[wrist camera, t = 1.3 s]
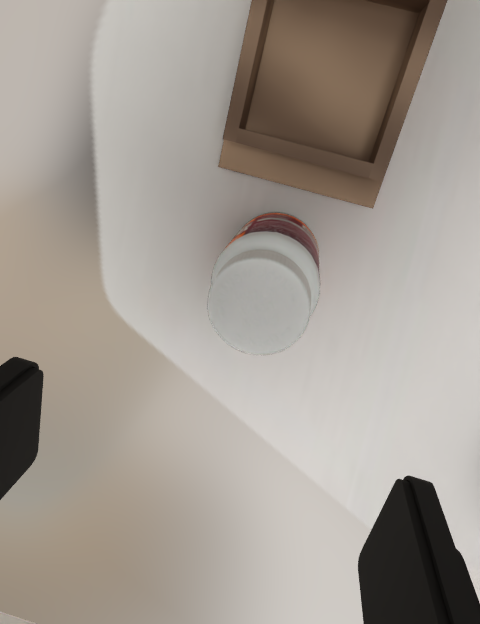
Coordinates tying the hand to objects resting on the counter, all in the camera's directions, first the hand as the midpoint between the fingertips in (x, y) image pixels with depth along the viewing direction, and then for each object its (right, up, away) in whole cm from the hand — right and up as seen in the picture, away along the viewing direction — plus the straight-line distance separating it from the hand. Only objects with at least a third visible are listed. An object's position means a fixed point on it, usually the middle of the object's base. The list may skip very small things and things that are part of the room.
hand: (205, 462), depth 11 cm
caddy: (+7, +22, +14) cm, 28 cm away
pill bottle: (+4, +8, +21) cm, 23 cm away
